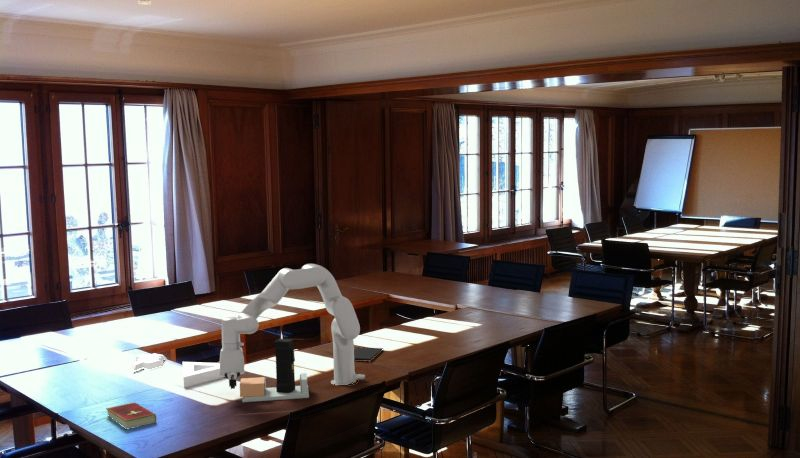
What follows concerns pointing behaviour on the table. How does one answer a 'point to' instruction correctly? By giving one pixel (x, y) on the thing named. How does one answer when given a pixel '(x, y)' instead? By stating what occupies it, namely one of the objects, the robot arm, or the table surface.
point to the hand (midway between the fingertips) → (232, 387)
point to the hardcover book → (131, 415)
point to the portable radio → (285, 365)
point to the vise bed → (274, 395)
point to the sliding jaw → (253, 387)
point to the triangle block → (200, 372)
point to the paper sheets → (148, 361)
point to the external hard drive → (366, 353)
